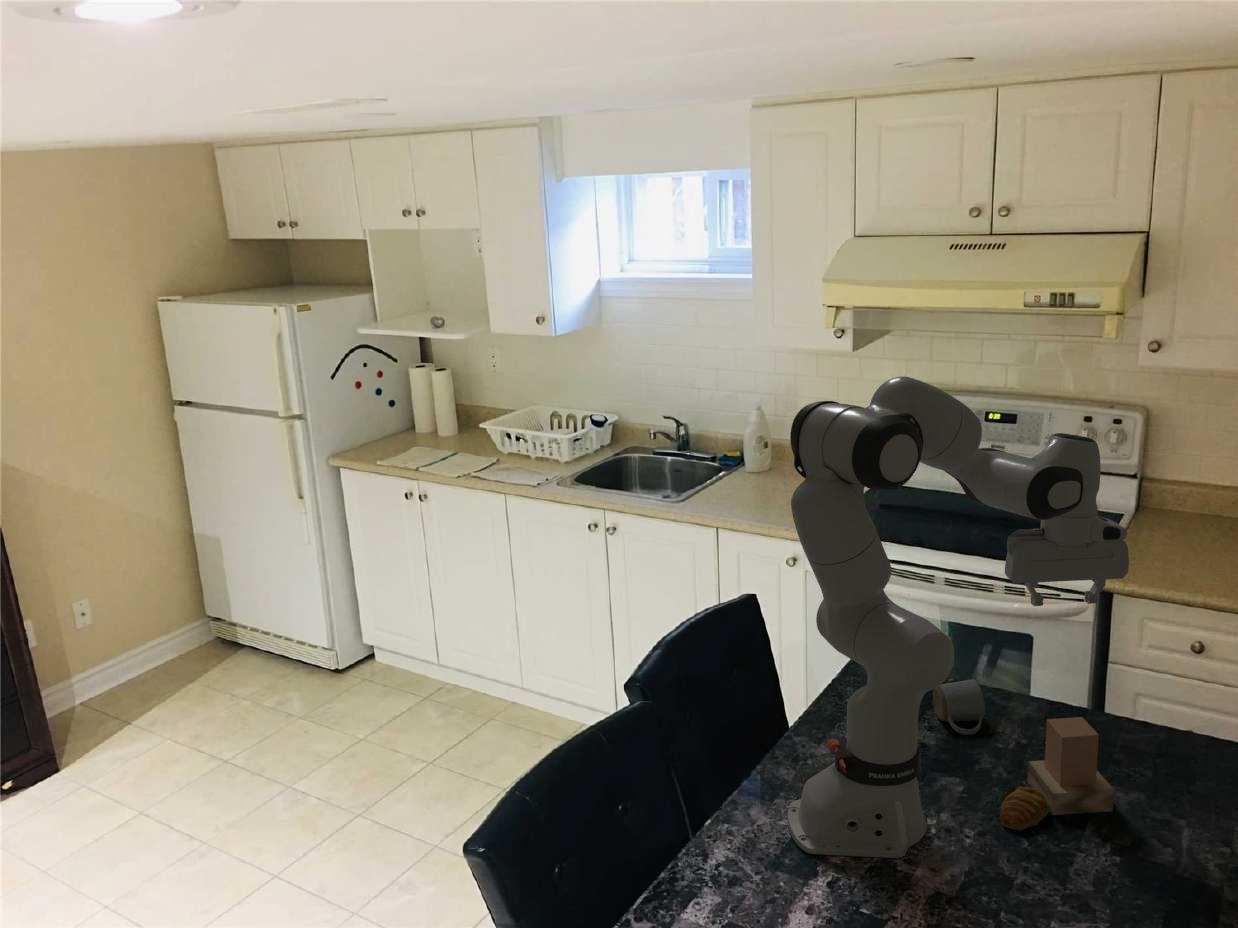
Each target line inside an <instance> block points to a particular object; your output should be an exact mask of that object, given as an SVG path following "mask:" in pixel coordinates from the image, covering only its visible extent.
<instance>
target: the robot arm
mask: <svg viewBox="0 0 1238 928" xmlns="http://www.w3.org/2000/svg"><path fill="white" fill-rule="evenodd" d="M982 429H983V428H982V422H981V419H980V418H979V417H978V416H977V414H976V413H974V412H973V410H972V409H971V408H969V407H968V405H966V404H965V403H963V402H962V401H961V400H959V399H957V398H956V397H954V396H952V395H951V394H949V393H948V392H946V391H944V390H942V389H941V388H939V387H936V386H934V385H932V384H930V383H928V382H924V381H923V380H919V379H916V378H912V377H909V376H897V377H896V376H895V377H892V378H890V379H888V380H886V381H884V382H883V383H882V384H881V385H879V387H878V388H877V389H876V391H875V392H874V393H873V395H872V398H871V399H870V404H869V405H868V406H867V407H863V406H860V405H859V406H858V405H856V404H855V405H854V404H849V403H840V402H837V401H836V400H835V401H834V400H820V401H814V402H811V403H809V404H807V405H804V406H803V407H802V408H801V409H799V411H798V412H797V413H796V415H795V416H794V419H793V420H792V424H791V427H790V434H789V435H790V437H789V438H790V448H791V452H792V454H793V458H794V459H793V467H794V469H795V471H797V473H798V474H799V475H800V476H801V477H803V478H804V480H803V481H802V482H801V483H799V485H798V486H797V487H796V488H795V490H794V491H793V493H792V496H791V501H790V508H791V513H792V518H793V522H794V526H795V529H796V532H797V536H798V539H799V541H800V542H799V543H800V545H801V547H802V550H803V552H804V553H805V554H804V555H805V556H806V558H807V561H808V563H809V565H810V567H811V570H812V572H813V574H814V576H815V579H816V581H817V583H818V585H819V587H820V589H821V593H822V601H821V602H820V603H819V606H818V608H817V612H816V627H817V630H818V632H819V634H820V636H822V637H823V639H824V640H825V641H826V642H827V643H828V644H830V646H831V647H833V648H834V649H835V650H836V651H837V652H838V653H839V654H842V655H843V656H845V657H847V658H849V659H850V660H852V661H853V662H855V663H857V664H859V665H861V666H862V667H863V668H864V670H865V672H866V674H867V675H866V676H867V681H866V685H865V686H862V687H860V688H858V689H857V690H856V691H854V693H853V694H852V695H851V696H850V697H849V699H848V700H847V703H846V740H845V742H844V743H843V744H842V745H840V742H839V740H838V739H836V738H830V739H829V740H828V742H827V744H826V746H827V748H828V750H829V753H830V754H831V755H833V756H834V762H833V763H831V764H830V765H828V766H826V768H824V769H823V770H821V771H820V772H818V773H817V774H815V775H813V776H811V777H810V778H808V780H806V782H805V783H804V786H803V788H802V793H801V797H800V799H796V800H793V801H792V802H791V803H790V804H789V805H788V806H789V807H788V809H787V815H786V816H787V817H786V823H787V827H788V830H789V832H790V835H791V837H792V839H793V841H794V842H795V844H796V845H797V846H798V847H799V848H800V849H801V850H803V851H804V852H806V853H807V854H810V855H825V856H826V855H827V856H829V855H830V856H844V857H845V856H848V857H867V858H886V859H887V858H889V859H900V858H903V857H904V856H905V855H906V853H907V852H908V850H909V848H910V847H912V846H913V845H915V844H917V842H920V840H922V838H923V837H925V835H926V832H927V830H928V826H927V825H928V824H927V821H926V818H925V815H924V812H923V806H922V803H921V796H920V795H921V794H920V789H919V787H920V786H919V781H920V778H921V777H920V776H921V771H922V769H921V766H922V762H921V750H920V747H919V746H918V736H919V735H918V731H919V730H918V729H919V713H920V706H921V704H922V701H923V698H924V696H925V695H926V694H927V693H928V692H930V691H934V689H935V688H936V687H938V686H939V685H942V684H944V682H945V680H947V678H948V677H949V676H950V673H951V672H952V670H953V669H952V668H953V667H954V663H955V662H954V661H955V649H954V644H953V642H952V640H951V638H950V637H949V636H948V635H946V634H945V633H944V631H942V630H941V629H939V628H938V627H937V625H935V624H933V623H932V621H930V620H928V619H926V618H925V617H922V615H921V616H920V615H918V614H917V613H914V612H912V611H910V610H908V609H906V608H904V607H902V606H899V605H898V604H896V603H895V602H893V600H892V599H891V598H889V596H888V595H887V594H886V592H885V590H884V589H885V588H886V587H887V585H888V583H889V581H890V579H891V577H892V565H891V562H890V559H889V558H888V554H887V553H886V550H885V548H884V545H883V543H882V541H881V538H880V536H879V534H878V531H877V529H876V527H875V524H874V522H873V520H872V518H871V516H870V514H869V512H868V510H867V508H866V502H865V488H867V489H868V490H869V489H870V490H876V491H894V490H897V489H900V488H901V487H903V486H904V485H905V484H907V483H908V482H909V481H910V479H911V478H912V477H913V476H914V474H915V472H916V471H917V469H918V467H919V464H920V463H921V464H923V465H926V466H928V467H931V468H934V469H937V470H940V471H943V472H945V473H946V474H948V475H949V476H951V477H952V478H953V479H955V480H956V481H957V482H958V483H959V485H960V487H961V488H962V490H963V491H964V493H965V495H966V496H967V498H968V499H969V500H970V501H971V502H972V503H974V504H976V505H978V506H983V507H988V508H992V509H993V508H994V509H998V510H1001V511H1005V512H1008V513H1012V514H1015V515H1019V516H1022V517H1026V518H1030V519H1034V520H1040V527H1037V528H1030V529H1029V528H1028V529H1024V528H1017V529H1016V530H1015V531H1014V532H1012V533H1009V535H1008V537H1007V540H1006V550H1007V553H1006V557H1005V565H1004V574H1005V576H1006V578H1008V579H1009V580H1010V581H1011V582H1012V583H1013V584H1024V586H1025V587H1026V589H1027V590H1028V593H1030V604H1031V606H1033V607H1042V606H1043V605H1044V596H1043V595H1042V594H1041V593H1038V592H1037V590H1036V589H1038V587H1039V583H1053V582H1054V583H1055V582H1056V583H1057V582H1074V581H1075V582H1077V581H1092V582H1093V584H1092V586H1091V587H1090V589H1089V590H1085V591H1084V598H1083V599H1084V602H1085V603H1086V604H1088V605H1090V604H1098V600H1099V599H1098V598H1099V597H1098V596H1099V594H1101V592H1102V591H1103V589H1104V587H1105V586H1106V583H1107V582H1106V581H1107V580H1118V579H1119V580H1121V579H1124V578H1125V577H1126V576H1127V574H1128V573H1129V563H1130V561H1129V560H1130V558H1129V557H1130V555H1129V547H1128V546H1129V545H1128V544H1127V542H1126V541H1124V540H1125V539H1126V537H1127V533H1128V531H1127V529H1126V527H1124V526H1123V525H1121V524H1119V523H1118V522H1116V521H1114V520H1112V519H1109V518H1106V517H1103V516H1100V515H1099V508H1098V505H1097V496H1098V493H1099V491H1100V488H1101V487H1100V486H1101V485H1100V484H1101V483H1100V482H1101V453H1100V449H1099V445H1098V442H1097V441H1095V439H1092V438H1090V437H1088V436H1082V435H1078V434H1071V433H1063V432H1062V433H1060V432H1057V433H1053V434H1050V436H1049V438H1048V441H1047V445H1046V446H1045V447H1044V449H1043V450H1041V451H1040V452H1039V453H1038V454H1036V455H1034V456H1032V457H1027V456H1024V455H1018V454H1014V453H1013V454H1012V453H1010V452H1009V453H1008V452H1006V451H1003V450H1000V449H996V448H993V447H980V445H981V442H982V437H983V436H982V435H983V433H982V432H983V430H982ZM799 468H800V469H801V470H800V469H799Z"/></svg>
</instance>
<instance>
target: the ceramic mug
mask: <svg viewBox="0 0 1238 928" xmlns="http://www.w3.org/2000/svg"><path fill="white" fill-rule="evenodd" d="M932 703H933V707H934V710H935V711H934V712H935V713H936V717H937V718H938V719H939V720H940V721H942V722H945V723H946V722H947V723H949V725H950V726H951V729H953V730H954V731H955V732H956V733H957V734H961V735H963V736H964V735H965V736H971V735H976V734H977V733H978V732H979V731H980V729H981V727H982V722H983V719H984V717H985V713H986V711H985V710H986V708H985V707H986V705H985V699H984V695H983V692H982V688H981V685H980V684H979V683H978V681H977V680H975V678H974V679H967V680H961V681H954V682H947V683H942V684H941V685H939V686H938V687H936V688H935V689H933V690H932ZM970 721H978V724H977V725H976V726H975V727H974V728H970V729H968V728H967V729H966V728H963V727H959V726H958V725H957V724H956V722H970Z"/></svg>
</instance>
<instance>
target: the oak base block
mask: <svg viewBox="0 0 1238 928" xmlns="http://www.w3.org/2000/svg"><path fill="white" fill-rule="evenodd" d="M1027 765H1028V766H1027V767H1028V768H1027V769H1028V770H1027V783H1028V785H1029V787H1032V788H1034V789H1037V790H1038V791H1040V792H1041V793H1042V794H1043V795H1044V797H1045V799H1046V800H1047V802H1048V804H1049V805H1050V807H1051V810H1050V811H1049V813H1050V814H1051V815H1052V816H1061V815H1062V816H1063V815H1073V814H1074V815H1075V814H1089V813H1101V812H1102V813H1104V812H1113V811H1114V795H1115V789H1114V787H1112V786H1111V784H1110V783H1109V782H1108V781H1107V780H1106V778H1105V777H1104V776H1103V775H1102V774H1101V773H1100V772H1099V771H1098V770H1097V773H1096V784H1083V785H1069V786H1059V784H1058V783H1057V782H1056V781H1055V779H1054V778H1053V777H1052V776H1051V774H1050V773H1049V772H1048V770H1047V769H1046V768H1045V759H1043V760H1031V761H1028V764H1027Z"/></svg>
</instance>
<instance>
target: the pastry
mask: <svg viewBox="0 0 1238 928" xmlns="http://www.w3.org/2000/svg"><path fill="white" fill-rule="evenodd" d="M1050 810H1051V807H1050V805H1049V804H1048V802H1047V800H1046V799H1045V797H1044V795H1043V794H1042V793H1041V792H1040V791H1038V790H1037V789H1034V788H1032V787H1031V786H1020V787H1018V788H1016V789H1015V790H1014V791H1013V792H1011V793H1009V794H1008V795H1006V797H1005V799H1004V800H1003V801H1002V803H1001V807H1000V814H999V819H1000V823H1001V826H1003V827H1006V828H1008V829H1011V830H1015V831H1019V832H1020V831H1021V832H1022V831H1024V830H1025V829H1029V828H1032V827H1036V826H1037V825H1038V824H1039V823H1040V822H1041V821H1042V820H1044V819H1045V818H1046V817H1047V815H1048V814H1049V813H1050Z"/></svg>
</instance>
